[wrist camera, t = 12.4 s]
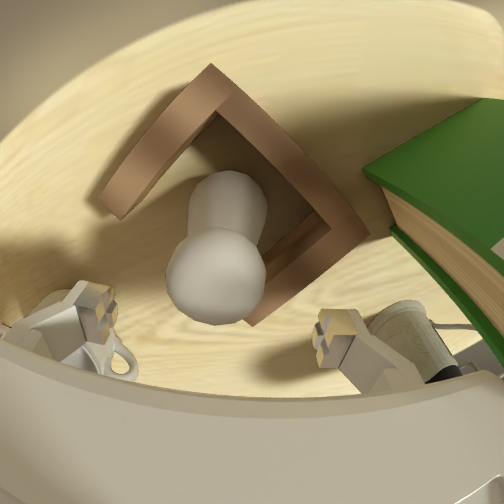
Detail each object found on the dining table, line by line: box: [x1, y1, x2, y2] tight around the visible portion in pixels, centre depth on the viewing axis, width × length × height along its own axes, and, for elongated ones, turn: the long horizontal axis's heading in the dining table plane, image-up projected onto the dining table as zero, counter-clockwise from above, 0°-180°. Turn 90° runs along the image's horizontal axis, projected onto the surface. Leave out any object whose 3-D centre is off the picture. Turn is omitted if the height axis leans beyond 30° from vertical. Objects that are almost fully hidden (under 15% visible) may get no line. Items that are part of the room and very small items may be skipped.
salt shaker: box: [165, 170, 268, 326], centre depth 17 cm, size 6×6×13 cm
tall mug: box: [367, 300, 504, 384], centre depth 22 cm, size 9×14×15 cm, turn 123°
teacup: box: [24, 289, 139, 382], centre depth 25 cm, size 14×11×8 cm
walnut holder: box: [97, 63, 371, 327], centre depth 20 cm, size 12×16×4 cm
